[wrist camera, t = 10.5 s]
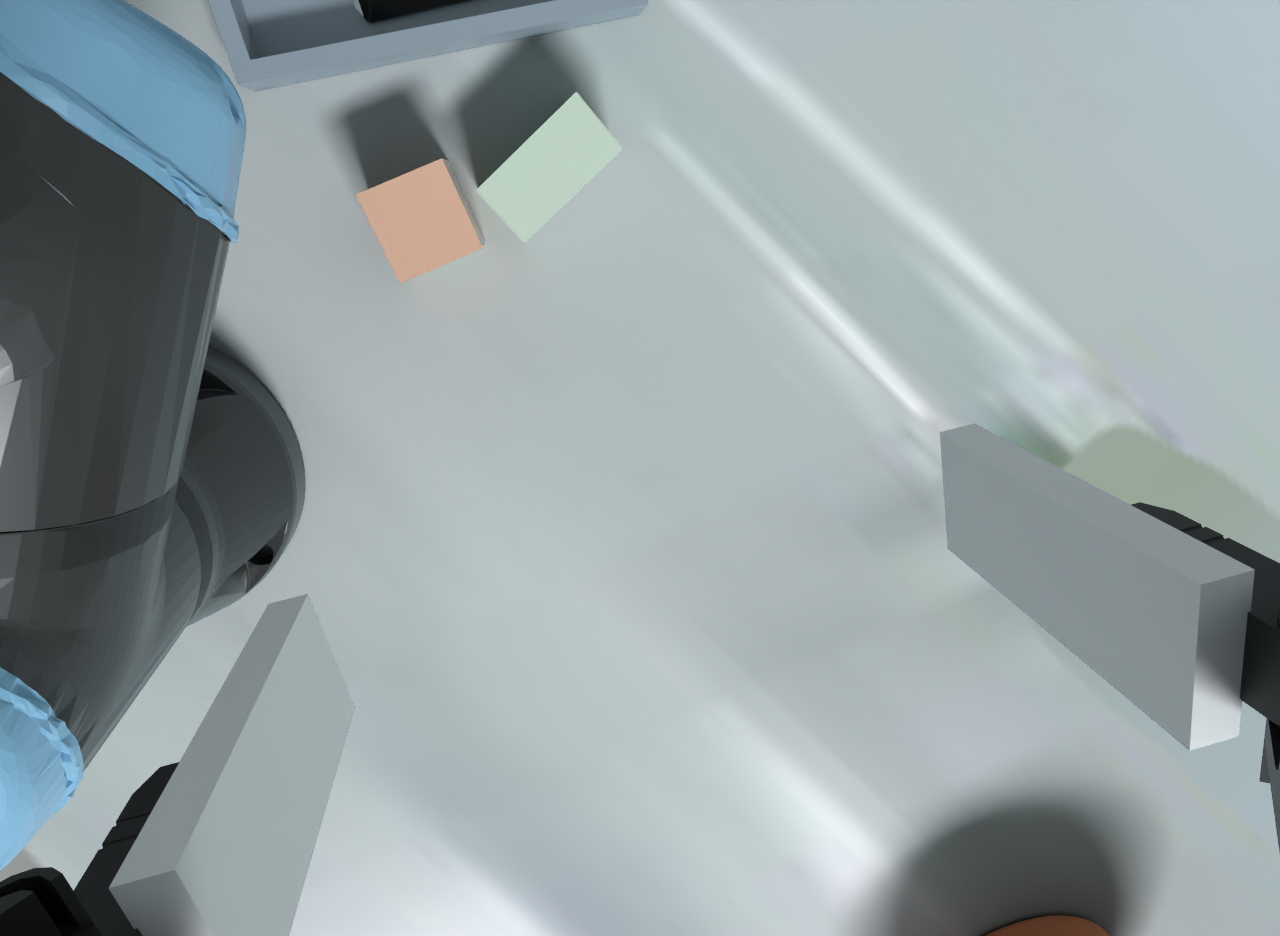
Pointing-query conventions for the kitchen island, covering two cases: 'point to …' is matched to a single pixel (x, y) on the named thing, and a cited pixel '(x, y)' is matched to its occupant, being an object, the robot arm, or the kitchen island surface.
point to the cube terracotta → (421, 219)
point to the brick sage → (549, 168)
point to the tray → (381, 33)
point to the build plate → (397, 8)
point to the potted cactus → (1052, 927)
